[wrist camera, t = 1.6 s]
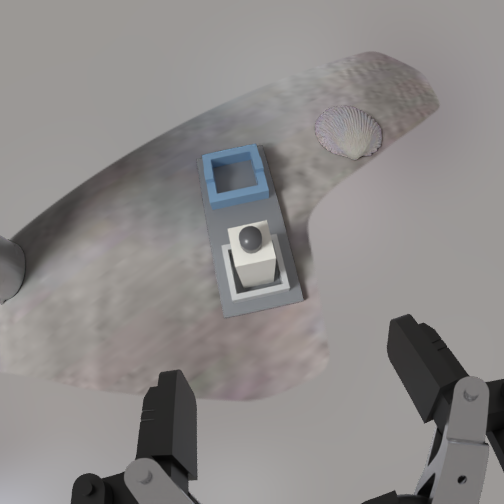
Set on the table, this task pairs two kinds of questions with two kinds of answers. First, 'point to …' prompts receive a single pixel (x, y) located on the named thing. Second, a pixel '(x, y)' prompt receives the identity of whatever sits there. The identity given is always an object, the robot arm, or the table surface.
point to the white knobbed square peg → (253, 253)
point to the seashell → (348, 132)
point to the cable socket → (242, 213)
